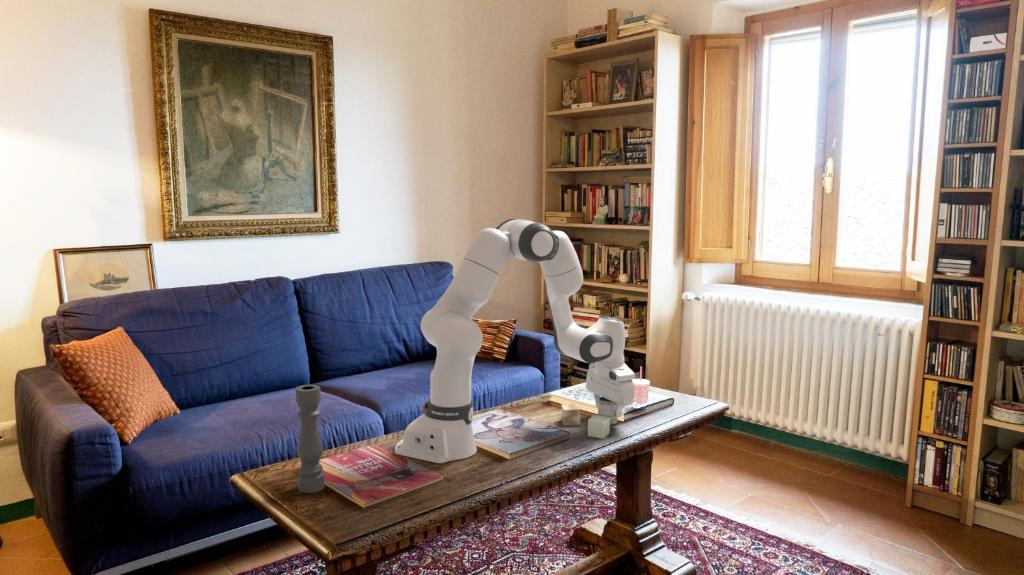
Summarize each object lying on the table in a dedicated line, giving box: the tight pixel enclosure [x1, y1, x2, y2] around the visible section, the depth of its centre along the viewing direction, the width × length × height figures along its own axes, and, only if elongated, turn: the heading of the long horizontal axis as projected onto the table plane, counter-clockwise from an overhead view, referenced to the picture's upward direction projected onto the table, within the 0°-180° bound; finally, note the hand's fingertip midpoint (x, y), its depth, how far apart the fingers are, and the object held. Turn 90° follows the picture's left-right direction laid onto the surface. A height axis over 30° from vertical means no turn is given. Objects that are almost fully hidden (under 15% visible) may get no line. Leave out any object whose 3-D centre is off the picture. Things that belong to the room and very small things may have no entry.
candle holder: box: [295, 384, 326, 494], centre depth 173 cm, size 6×6×25 cm
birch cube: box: [560, 403, 581, 426], centre depth 223 cm, size 5×5×5 cm
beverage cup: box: [632, 366, 651, 404], centre depth 237 cm, size 6×6×14 cm
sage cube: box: [587, 414, 611, 439], centre depth 213 cm, size 5×5×5 cm
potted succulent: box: [597, 396, 619, 426], centre depth 223 cm, size 6×6×8 cm
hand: (608, 411), depth 224 cm, fingers open, 8 cm apart
